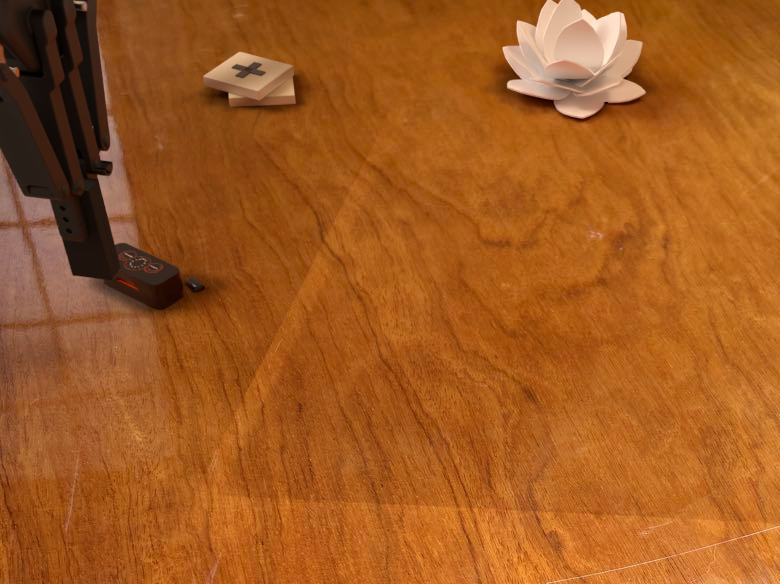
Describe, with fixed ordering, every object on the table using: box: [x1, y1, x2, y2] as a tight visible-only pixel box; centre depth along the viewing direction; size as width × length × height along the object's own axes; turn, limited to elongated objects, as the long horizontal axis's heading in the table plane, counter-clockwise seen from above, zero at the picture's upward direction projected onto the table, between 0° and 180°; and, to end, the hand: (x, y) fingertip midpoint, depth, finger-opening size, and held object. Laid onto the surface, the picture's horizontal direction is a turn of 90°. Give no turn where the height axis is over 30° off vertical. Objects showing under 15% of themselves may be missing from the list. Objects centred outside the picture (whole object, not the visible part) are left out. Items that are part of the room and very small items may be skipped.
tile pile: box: [202, 51, 297, 108], centre depth 110 cm, size 8×8×3 cm
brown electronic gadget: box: [102, 242, 210, 311], centre depth 88 cm, size 5×7×3 cm, turn 57°
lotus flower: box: [502, 0, 647, 119], centre depth 113 cm, size 14×15×9 cm
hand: (96, 271), depth 78 cm, fingers closed
